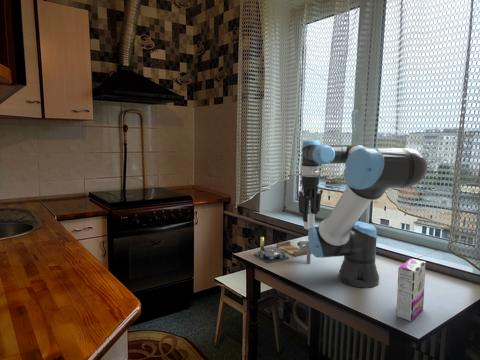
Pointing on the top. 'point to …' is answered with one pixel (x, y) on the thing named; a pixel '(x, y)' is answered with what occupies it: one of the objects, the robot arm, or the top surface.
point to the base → (271, 259)
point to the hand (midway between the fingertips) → (309, 228)
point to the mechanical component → (305, 249)
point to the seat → (290, 249)
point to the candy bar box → (410, 289)
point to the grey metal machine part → (270, 251)
